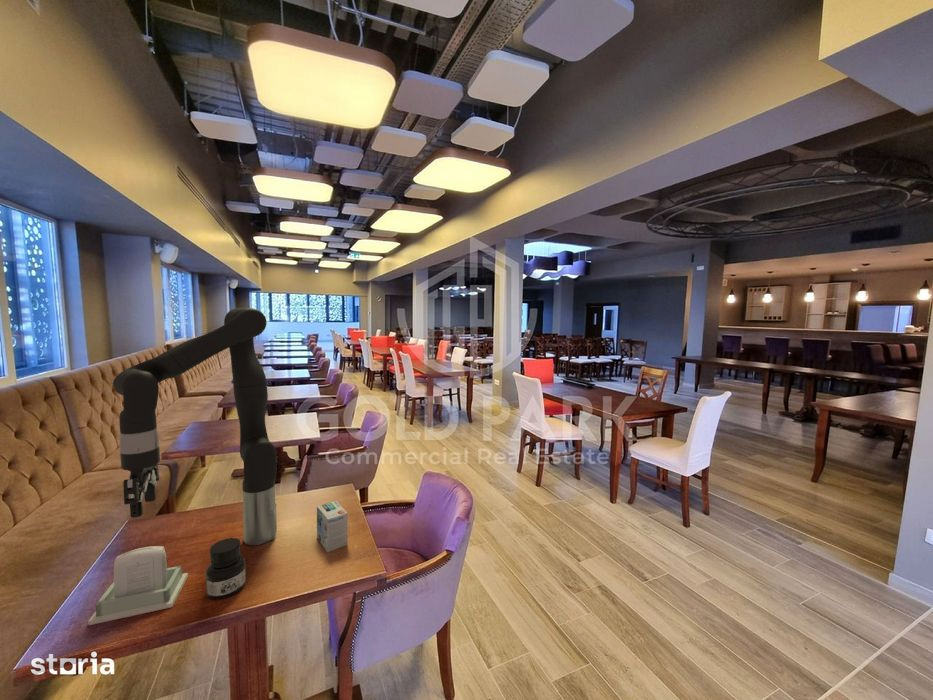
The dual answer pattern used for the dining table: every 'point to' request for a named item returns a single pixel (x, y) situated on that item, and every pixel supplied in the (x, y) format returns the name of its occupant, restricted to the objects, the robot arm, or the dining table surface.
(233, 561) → the ink bottle
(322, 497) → the dining table surface
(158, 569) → the photo printer
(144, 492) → the robot arm
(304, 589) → the dining table surface
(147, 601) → the printer dock
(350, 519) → the dining table surface
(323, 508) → the light bulb box
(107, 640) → the dining table surface
